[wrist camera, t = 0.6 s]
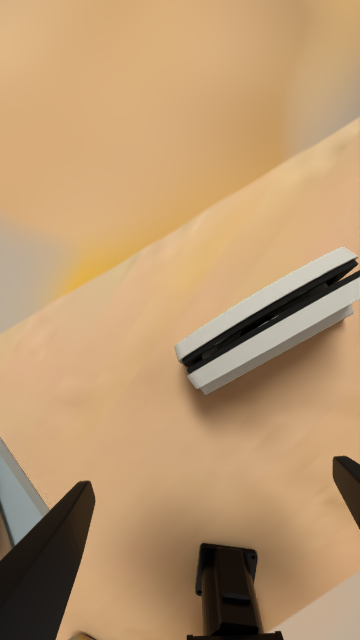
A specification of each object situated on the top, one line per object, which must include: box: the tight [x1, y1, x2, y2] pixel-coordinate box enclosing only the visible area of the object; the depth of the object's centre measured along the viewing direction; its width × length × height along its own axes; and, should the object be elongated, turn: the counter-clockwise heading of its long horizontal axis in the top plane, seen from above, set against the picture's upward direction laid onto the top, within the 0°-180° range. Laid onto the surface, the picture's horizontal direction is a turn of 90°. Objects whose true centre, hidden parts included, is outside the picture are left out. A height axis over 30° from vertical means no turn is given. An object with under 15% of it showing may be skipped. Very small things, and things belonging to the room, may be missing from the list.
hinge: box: [174, 246, 360, 395], centre depth 19 cm, size 17×5×10 cm, turn 121°
